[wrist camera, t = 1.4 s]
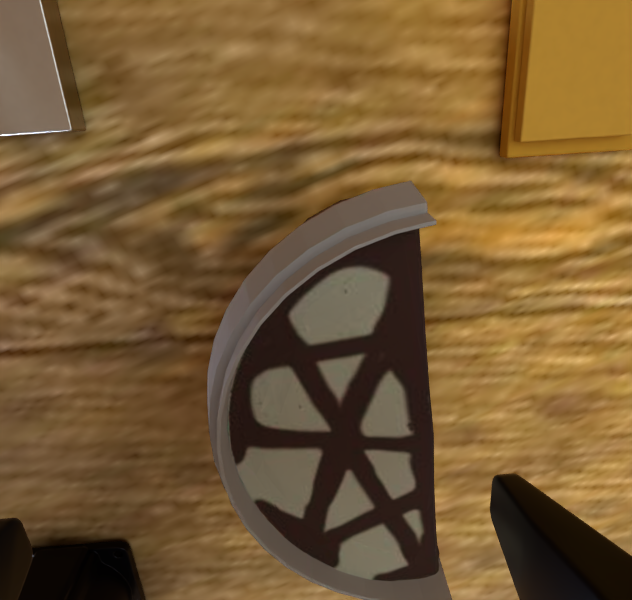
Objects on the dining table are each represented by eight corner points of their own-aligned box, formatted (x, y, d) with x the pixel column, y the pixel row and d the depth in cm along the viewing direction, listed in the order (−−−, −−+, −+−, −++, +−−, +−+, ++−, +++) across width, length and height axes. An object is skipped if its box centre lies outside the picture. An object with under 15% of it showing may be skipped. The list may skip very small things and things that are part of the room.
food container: (211, 178, 18) (125, 239, 9) (364, 156, 18) (435, 193, 9) (266, 430, 23) (246, 643, 14) (389, 412, 23) (453, 615, 13)
